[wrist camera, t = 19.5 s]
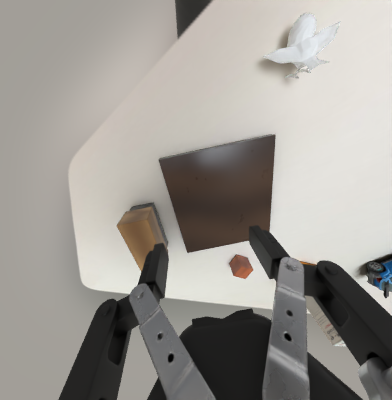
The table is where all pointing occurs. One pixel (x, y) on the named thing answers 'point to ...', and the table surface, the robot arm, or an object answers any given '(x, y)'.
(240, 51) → the table surface
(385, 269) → the toy car
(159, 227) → the brush
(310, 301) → the supplement box
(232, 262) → the reddish brown block
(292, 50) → the white bird figurine
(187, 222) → the tray
